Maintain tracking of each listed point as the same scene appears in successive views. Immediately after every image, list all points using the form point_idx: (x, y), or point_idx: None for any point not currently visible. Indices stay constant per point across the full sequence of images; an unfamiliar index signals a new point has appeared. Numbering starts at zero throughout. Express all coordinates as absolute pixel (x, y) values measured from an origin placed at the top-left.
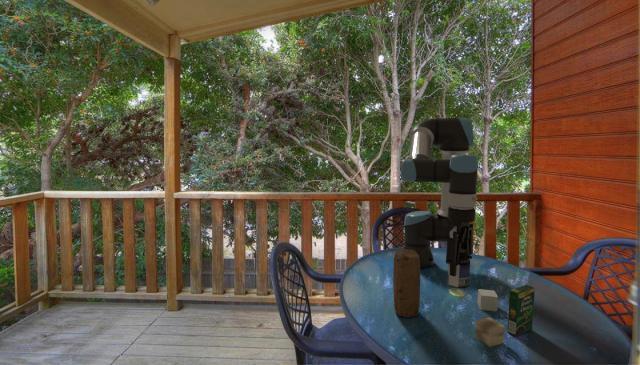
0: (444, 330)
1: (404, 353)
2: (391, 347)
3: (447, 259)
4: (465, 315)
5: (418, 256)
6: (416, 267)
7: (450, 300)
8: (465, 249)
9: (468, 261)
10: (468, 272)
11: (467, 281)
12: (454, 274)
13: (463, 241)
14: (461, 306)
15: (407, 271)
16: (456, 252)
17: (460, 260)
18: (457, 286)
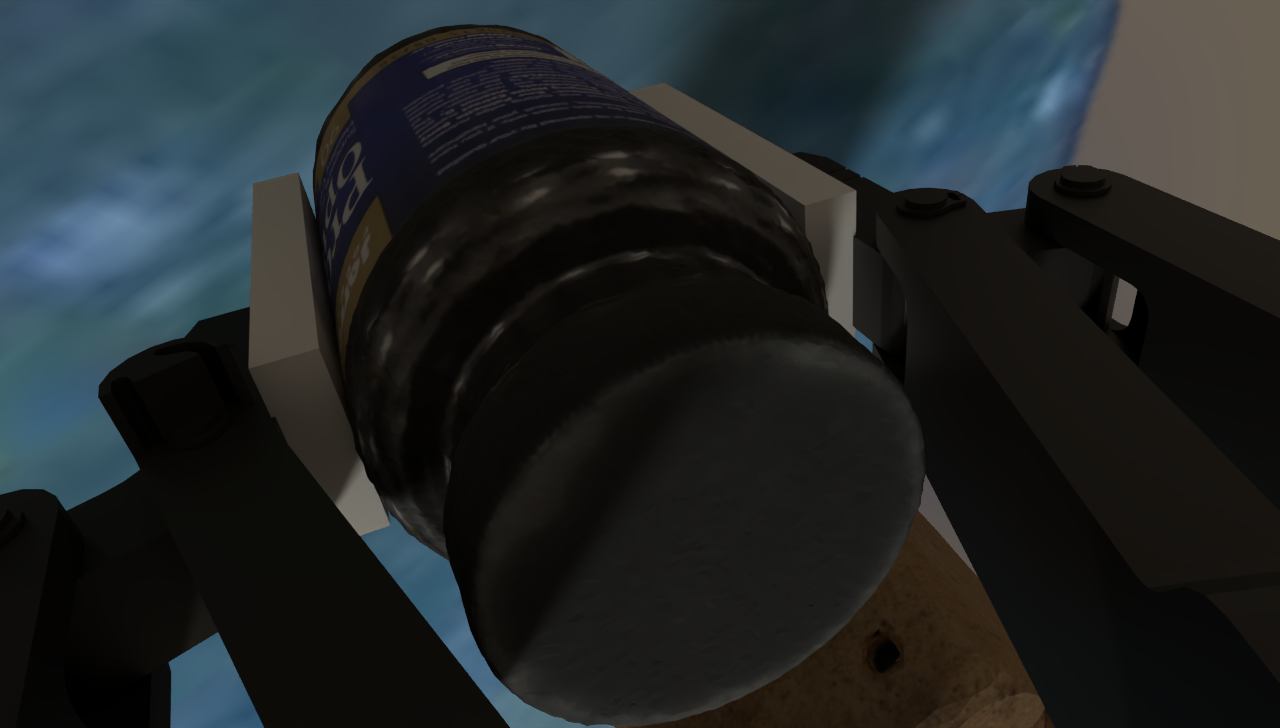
0: (632, 26)
1: (1063, 3)
2: (1052, 100)
3: (1142, 336)
4: (206, 86)
5: (959, 705)
6: (934, 567)
7: (84, 380)
8: (548, 515)
9: (607, 162)
10: (523, 78)
11: (503, 40)
12: (824, 161)
13: (1244, 612)
14: (72, 238)
15: (955, 563)
16: (1270, 306)
17: (797, 265)
18: (667, 86)
